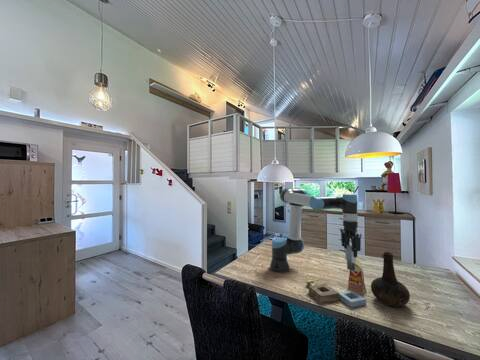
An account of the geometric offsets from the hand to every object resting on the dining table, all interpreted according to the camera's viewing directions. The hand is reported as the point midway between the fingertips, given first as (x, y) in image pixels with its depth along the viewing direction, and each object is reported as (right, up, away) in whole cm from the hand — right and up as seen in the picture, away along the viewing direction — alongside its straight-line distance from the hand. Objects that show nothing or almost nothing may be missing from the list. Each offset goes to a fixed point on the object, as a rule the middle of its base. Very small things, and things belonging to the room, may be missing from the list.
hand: (350, 260), depth 118 cm
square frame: (0, -23, 0) cm, 23 cm away
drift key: (-17, -23, +14) cm, 32 cm away
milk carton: (+10, -24, +12) cm, 28 cm away
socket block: (-14, -23, +5) cm, 28 cm away
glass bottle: (+21, -23, -2) cm, 31 cm away
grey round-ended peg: (0, -5, 0) cm, 5 cm away
